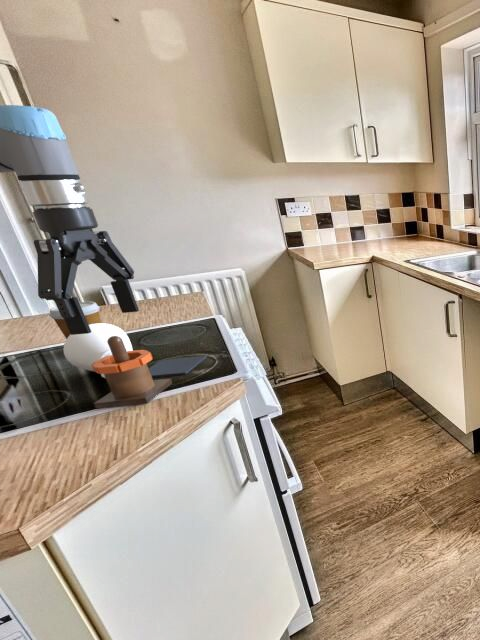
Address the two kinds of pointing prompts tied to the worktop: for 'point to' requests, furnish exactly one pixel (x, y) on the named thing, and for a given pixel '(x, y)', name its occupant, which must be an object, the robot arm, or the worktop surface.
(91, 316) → the disposable coffee cup
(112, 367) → the ring
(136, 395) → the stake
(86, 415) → the worktop surface
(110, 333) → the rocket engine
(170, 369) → the mat
